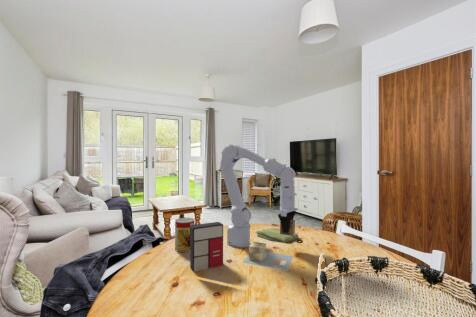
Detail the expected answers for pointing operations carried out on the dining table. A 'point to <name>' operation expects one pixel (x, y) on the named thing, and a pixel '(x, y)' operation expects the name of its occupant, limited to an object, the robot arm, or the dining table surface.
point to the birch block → (257, 251)
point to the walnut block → (291, 229)
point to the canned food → (183, 234)
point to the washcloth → (276, 235)
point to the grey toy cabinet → (206, 246)
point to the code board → (273, 261)
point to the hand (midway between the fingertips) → (287, 230)
